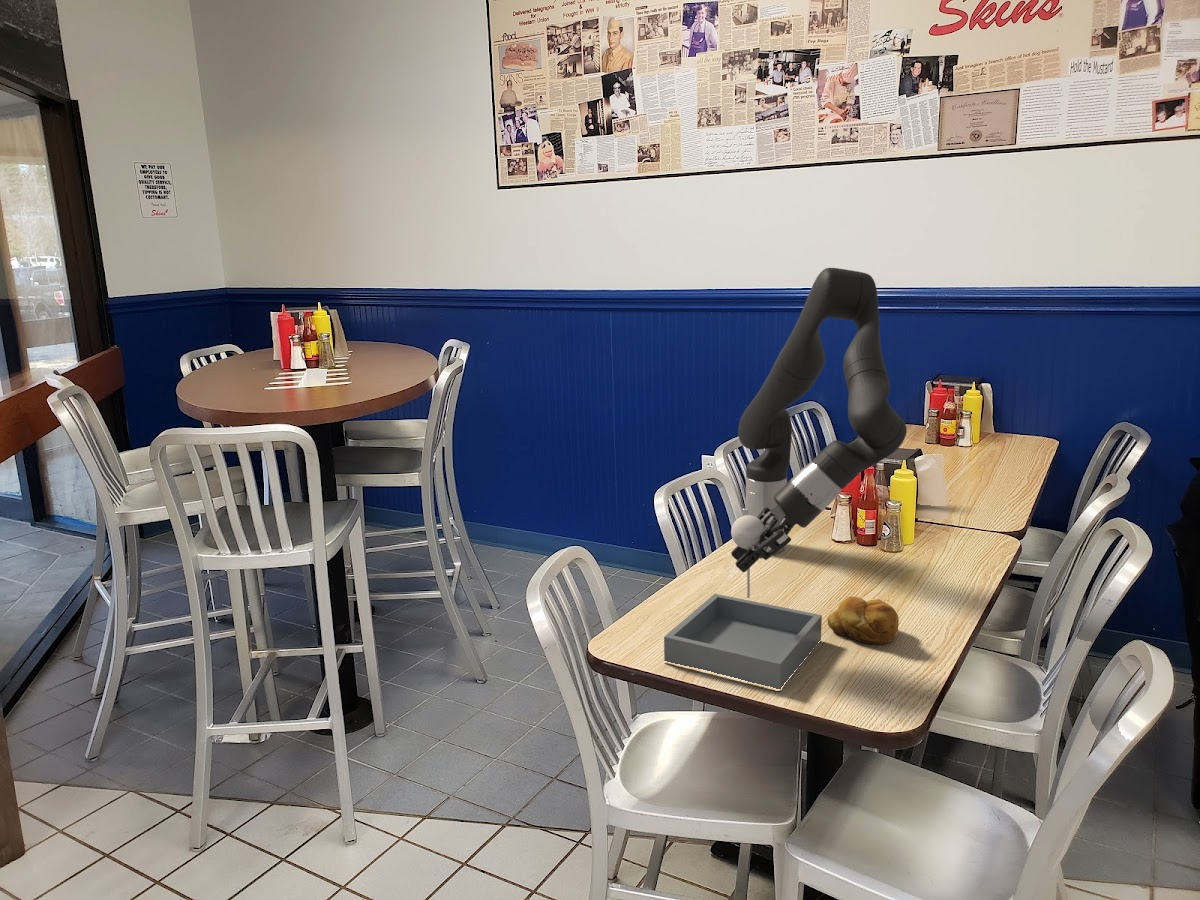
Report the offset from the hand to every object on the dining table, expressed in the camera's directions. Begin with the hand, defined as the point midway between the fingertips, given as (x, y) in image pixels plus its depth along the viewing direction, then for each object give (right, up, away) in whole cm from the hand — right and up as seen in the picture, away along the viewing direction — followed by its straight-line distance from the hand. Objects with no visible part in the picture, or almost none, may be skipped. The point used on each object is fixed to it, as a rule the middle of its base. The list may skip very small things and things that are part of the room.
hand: (737, 562), depth 156 cm
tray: (+2, -16, +3) cm, 17 cm away
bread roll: (+25, -14, +9) cm, 30 cm away
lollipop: (+2, -6, +2) cm, 7 cm away
